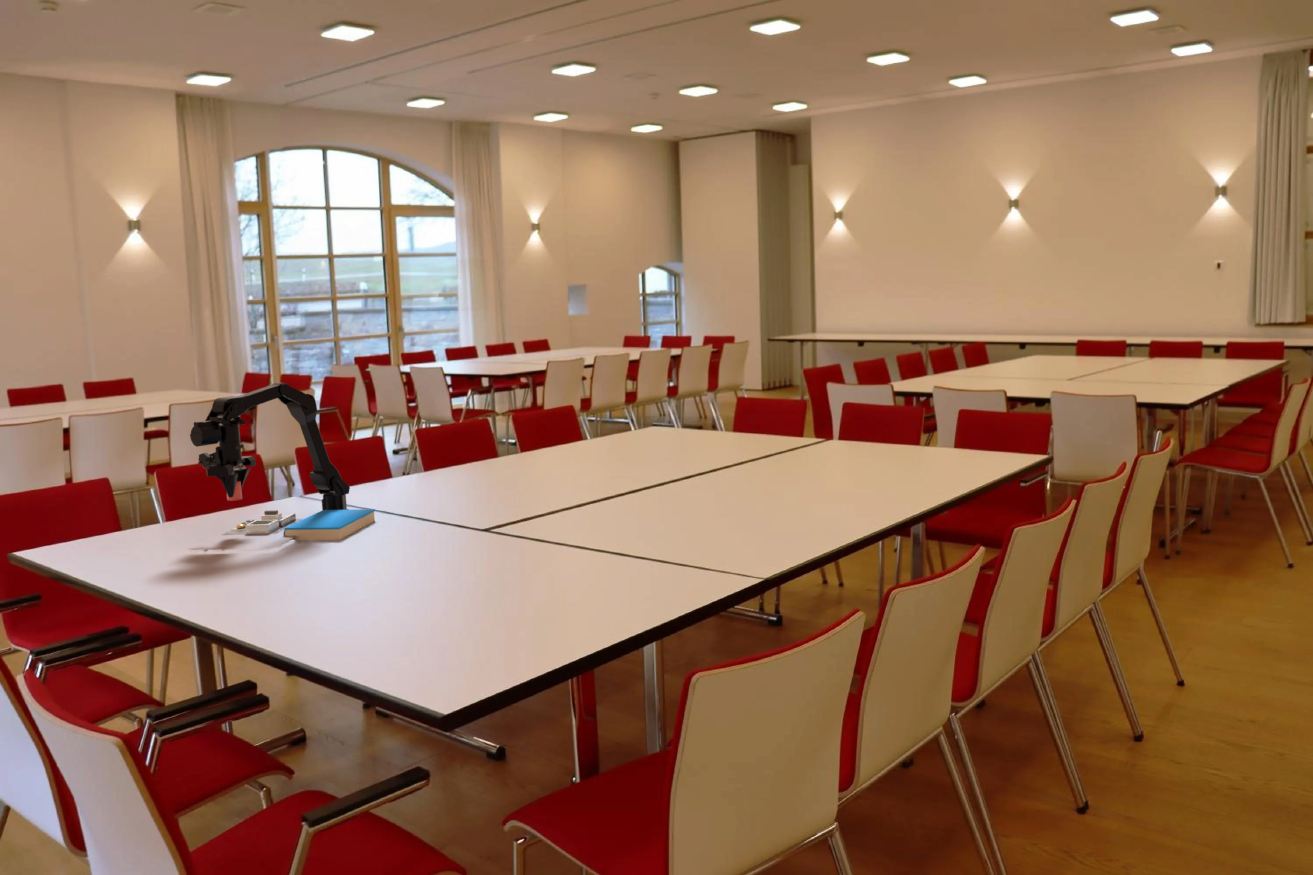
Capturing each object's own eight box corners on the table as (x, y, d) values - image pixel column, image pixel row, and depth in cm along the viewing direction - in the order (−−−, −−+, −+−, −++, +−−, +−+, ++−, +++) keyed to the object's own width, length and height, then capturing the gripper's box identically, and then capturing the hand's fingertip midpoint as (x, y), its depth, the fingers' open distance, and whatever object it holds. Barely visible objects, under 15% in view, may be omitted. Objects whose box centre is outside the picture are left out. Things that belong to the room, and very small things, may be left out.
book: (375, 509, 326) (340, 526, 301) (376, 523, 326) (341, 541, 302) (321, 509, 328) (282, 526, 304) (322, 523, 329) (283, 541, 304)
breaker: (282, 524, 320) (281, 509, 319) (276, 527, 316) (275, 512, 315) (267, 524, 320) (266, 509, 319) (262, 527, 316) (260, 512, 315)
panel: (303, 522, 327) (302, 510, 326) (275, 537, 307) (274, 525, 307) (252, 523, 328) (251, 511, 328) (221, 538, 308) (220, 526, 308)
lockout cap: (244, 497, 311) (243, 480, 311) (238, 500, 308) (236, 483, 307) (231, 498, 312) (229, 481, 311) (224, 500, 308) (223, 483, 307)
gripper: (217, 438, 317) (222, 490, 319) (185, 447, 299) (191, 502, 301) (254, 437, 316) (259, 489, 319) (224, 446, 298) (229, 501, 300)
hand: (234, 495), depth 310 cm, fingers closed on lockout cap, 4 cm apart
